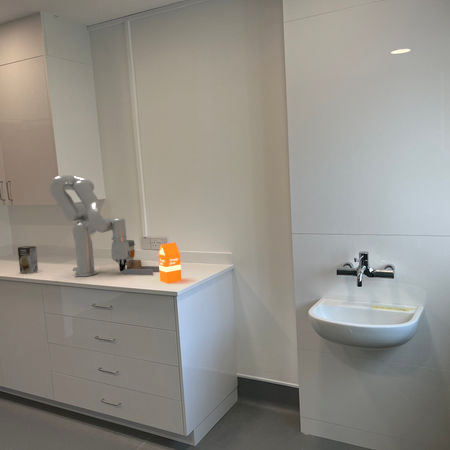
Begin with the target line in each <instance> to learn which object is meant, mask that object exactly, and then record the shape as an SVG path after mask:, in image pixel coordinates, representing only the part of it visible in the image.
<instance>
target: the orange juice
mask: <svg viewBox="0 0 450 450" xmlns="http://www.w3.org/2000/svg"><path fill="white" fill-rule="evenodd" d="M179 250H180V249H179V248H178V245H177V244H176V242H170V243H162V244H161V245H160V248H159V252H158V266H159V270H160V272H159V279H160V280H159V281H160V283H161V282H162V283H165V284H171V283H176V282H180V281H181V282H182V280H183V279H182V265H181V264H182V263H181V253H180V251H179Z"/></svg>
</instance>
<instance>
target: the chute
mask: <svg viewBox="0 0 450 450" xmlns="http://www.w3.org/2000/svg"><path fill="white" fill-rule="evenodd" d="M141 267H142V269H127V268H125V269H124V271H123V275H126V276H127V275H128V276H131V275H132V276H154V273H160V270H159V265H141Z"/></svg>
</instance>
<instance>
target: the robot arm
mask: <svg viewBox="0 0 450 450" xmlns="http://www.w3.org/2000/svg"><path fill="white" fill-rule="evenodd" d="M68 190H69V191H70V190H71V191H74V192H75V194H76V195H77V197H78V199H79V200H80V202H81V203H82V204H81V203H76V202H75V201H74V200H73V198H72V196H71V195H70V194H69V193H68V192H67V191H68ZM94 190H95V184H94V183H93V181H91V180H89V179H87V178H84V177H79V176H75V175H68V174H63V175H62V174H61V175H57V176H54V177H53V178H52V179H51V181H50V184H49V192H50V195H51V197H52V198H53V199H54V201H55V202H56V204H57V206H58V207H59V209H60V210H61V212H62V213H63V216H64V217H65V219H66V220H68V221H69V222H75V224H73V227H72V235H73V239H74V245H75V256H76V267H75V266H74V267H73V269H72V271H73V272H75V273H74V275H75V277H79V278H81V277H90V276H95V275H97V274H98V271H97V270H95V259H94V258H95V257H94V248H93V241H92V239H91V236H92V235H95V233H96V232H99V233H106V232H110V231H112V237H111V240H112V242H111V259H112V260H113V262H116V263H117V264H118V268H119V272H124V269H126V265H125V264H126V262H127V261H130V248H129V244H128V241H127V240H128V239H127V227H126V219H125V218H124V217H116V218H114V217H113V218H111V217H105V218H103V216H102V215H101V213H100V211H99V204H100V200H99V198H98V197H97V195H96V194H95V192H94Z"/></svg>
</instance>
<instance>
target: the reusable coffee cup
mask: <svg viewBox="0 0 450 450" xmlns="http://www.w3.org/2000/svg"><path fill="white" fill-rule="evenodd" d="M127 241H128V244H129V248H130V260H135V259H134V257H135V250H136V249H135V245H136V244H135V240H132V239H127ZM125 266H127V264H125Z"/></svg>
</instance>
